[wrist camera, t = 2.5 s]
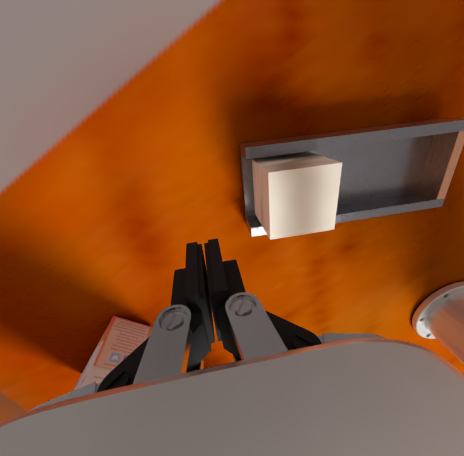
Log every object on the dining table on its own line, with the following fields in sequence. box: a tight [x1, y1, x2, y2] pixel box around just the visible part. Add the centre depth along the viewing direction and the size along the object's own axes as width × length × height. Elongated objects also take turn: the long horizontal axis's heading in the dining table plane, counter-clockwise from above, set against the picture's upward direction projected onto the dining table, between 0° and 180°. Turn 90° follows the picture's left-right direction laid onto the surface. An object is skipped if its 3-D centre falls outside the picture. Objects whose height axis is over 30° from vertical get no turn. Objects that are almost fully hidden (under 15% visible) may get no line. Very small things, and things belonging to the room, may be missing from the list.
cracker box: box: [74, 316, 152, 390], centre depth 24 cm, size 14×6×21 cm, turn 148°
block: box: [252, 152, 342, 240], centre depth 22 cm, size 6×6×6 cm
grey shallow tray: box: [239, 118, 464, 236], centre depth 24 cm, size 22×9×3 cm, turn 96°
